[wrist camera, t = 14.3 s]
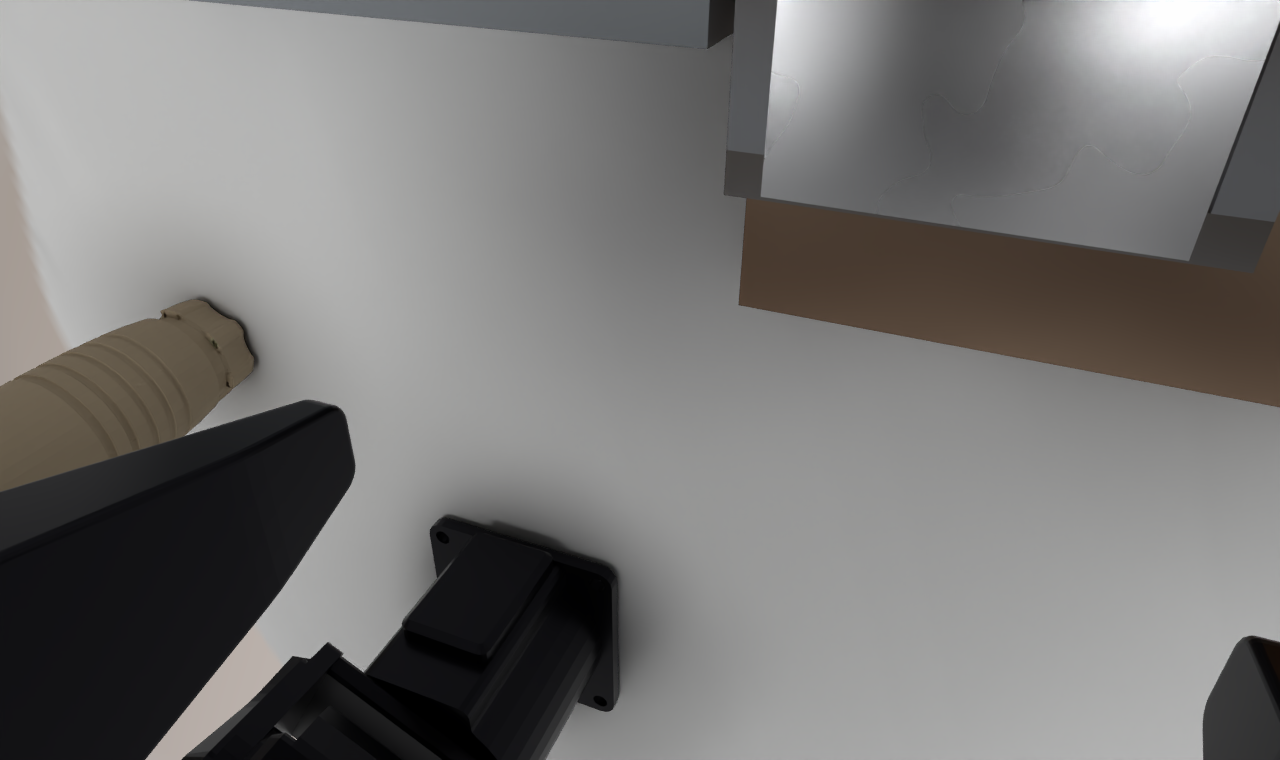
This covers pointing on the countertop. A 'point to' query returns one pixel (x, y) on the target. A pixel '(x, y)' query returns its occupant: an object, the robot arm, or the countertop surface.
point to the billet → (1015, 112)
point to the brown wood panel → (1025, 263)
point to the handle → (119, 392)
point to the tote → (548, 16)
